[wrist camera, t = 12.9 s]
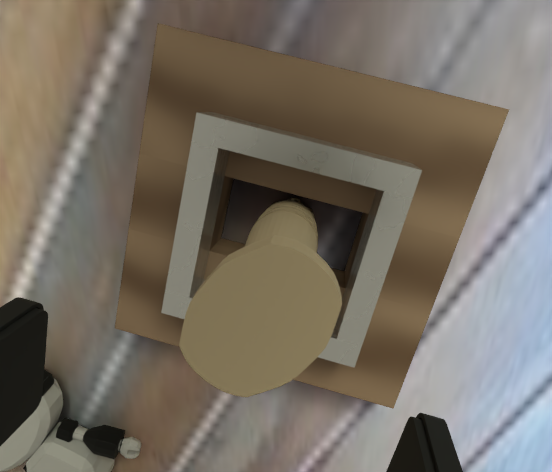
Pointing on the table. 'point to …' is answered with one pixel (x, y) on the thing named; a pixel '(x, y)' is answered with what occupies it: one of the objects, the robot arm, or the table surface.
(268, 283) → the handle
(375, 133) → the board
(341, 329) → the collar
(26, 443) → the robot toy
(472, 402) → the table surface
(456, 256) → the table surface
